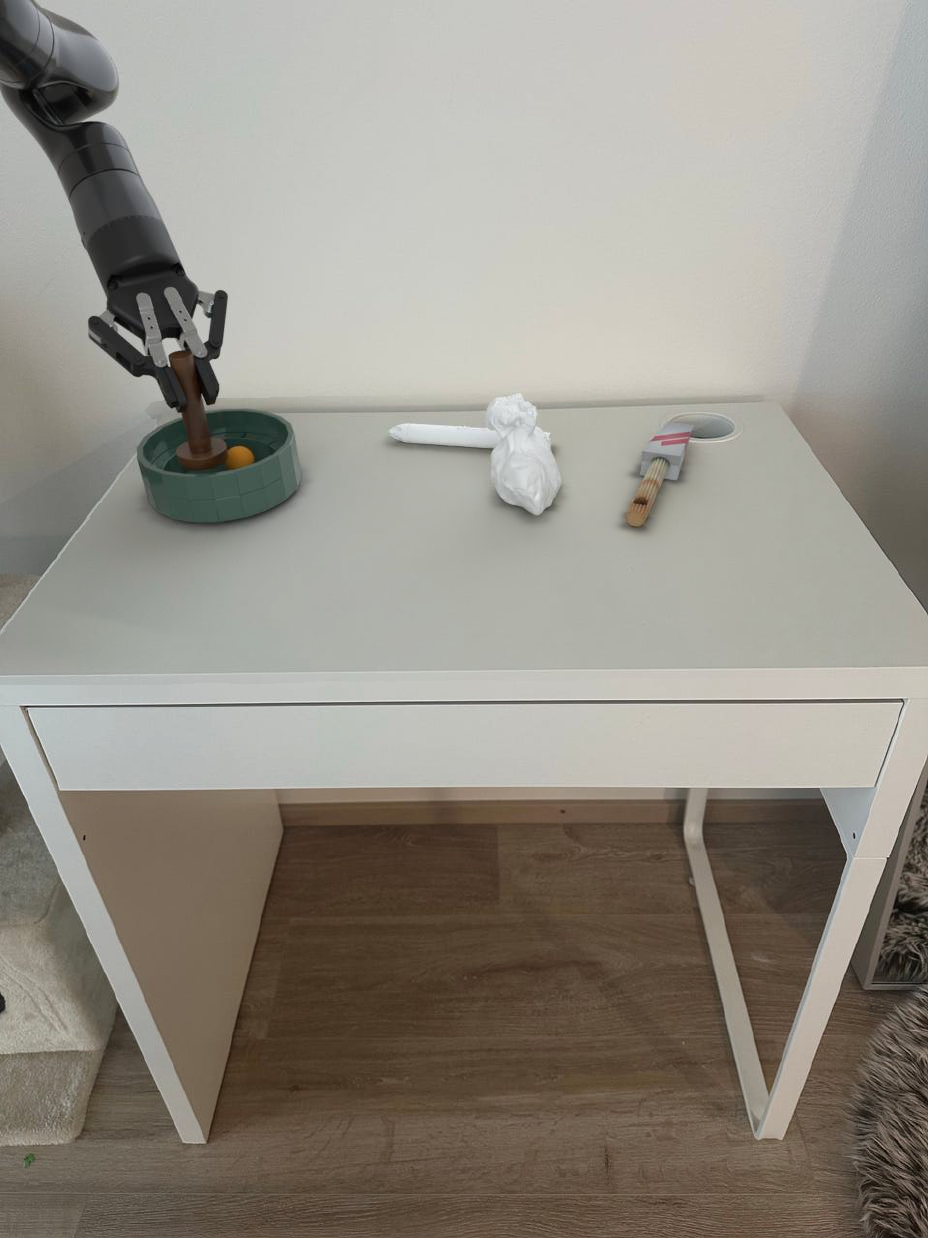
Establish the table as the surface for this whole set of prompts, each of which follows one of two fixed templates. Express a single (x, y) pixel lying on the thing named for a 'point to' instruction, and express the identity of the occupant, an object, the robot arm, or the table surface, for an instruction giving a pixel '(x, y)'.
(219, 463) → the wooden peg stand
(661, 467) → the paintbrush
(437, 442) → the marker
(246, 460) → the bead
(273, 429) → the bowl
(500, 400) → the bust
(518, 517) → the table surface
